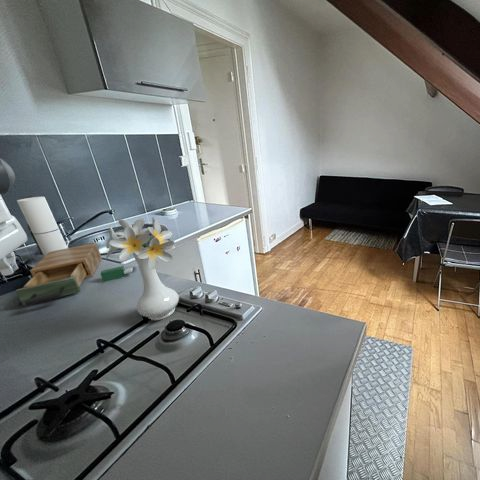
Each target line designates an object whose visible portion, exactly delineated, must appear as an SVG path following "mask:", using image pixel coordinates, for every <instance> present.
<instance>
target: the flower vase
mask: <svg viewBox="0 0 480 480" xmlns="http://www.w3.org/2000/svg"><path fill="white" fill-rule="evenodd" d="M145 223H146V221H145V219H144V218H138V219H136V220H135V221H134V223H133V224H131V223H130V222H129V221H128V220H126V219H120V218H119V220H118V224H119V226H121V227H122V229H119V230H117V231H116V232H115V231H114V229H113V227H111V226H109V228H108V229H109V230H108V231H109V237H110V238H111V239H108V241H107V242H106V245H105V248H106V249H108V251H107V253H106V257H105V260H107V259H108V258H109V257H110V256H111V255H112V253H113V252H114V251H115V250H116V249H122V250H121V251H120V253H119V255H118V260H119V261H120V262H125V261H127V260H128V259H130V257H131V256H133V258H134V259H135V261H136V263H137V265H138V269H139V272H140V275H141V278H142V284H143V292H142V294H141V296H140V297H139V299H138V301H137V304H136V311H137V312H138V314H139V315H141V316H142V317H143V318H144V317H145V318H148V319H149V320H150V319H151V321H161V320H165V319H166V318H168V317H170V316H172V315H173V314H174V313H175V311H176V308H177V306H178V304H179V301H180V295H179V294H178V293H177V291H176V290H175V289H173V288H171V287H168V286H166V285H165V284H164V283H163V282H162V281H161V279H160V277H159V276H158V275H159V274H158V273H157V270H156V267H157V265H158V263H159V260H160V261H163V262H171V261H173V260H174V258H173V255H172V254H171V253H169V252H168V251H167V250H169V249H176V246H175V241H174V240H172V239H170V238H172V237H173V233H172V231H170V230H167V228H166V227H165V225H163V224H160V222H159V221H158V220H156V219H155V218H154V217H152V218H151V223H152V226H148V227H146V228H143V227H144V226H145ZM150 234H151V235H150Z"/></svg>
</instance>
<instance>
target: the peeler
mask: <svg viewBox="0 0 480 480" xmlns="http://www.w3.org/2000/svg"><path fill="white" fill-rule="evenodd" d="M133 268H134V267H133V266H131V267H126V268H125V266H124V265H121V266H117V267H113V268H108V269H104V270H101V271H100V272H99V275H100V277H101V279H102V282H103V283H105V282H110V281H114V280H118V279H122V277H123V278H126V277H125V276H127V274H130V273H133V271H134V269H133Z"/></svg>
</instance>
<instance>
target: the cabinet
mask: <svg viewBox="0 0 480 480" xmlns="http://www.w3.org/2000/svg"><path fill="white" fill-rule="evenodd" d="M102 259H103V256H102V255H101V251H100V250H99V247H98V244H97V243H96V242H93V243H90V244H89V243H88V244H83V245H79V246H73V247H68V248H67V249H61V250H56V251H51V252H49V253H48V254H47V255H46V256H45V257H44V256H43V257H42V258H41V259H40V260H39V261H38V262H37V263H36V264H35V265H34V266H33V267H32V268H31V269H30V270H29V271H30V274H31V276H32V277H33V276H34V275H35V274H36V273H37V272H38V271H42V270H47V269H52V268H57V267H62V266H66V265H71V264H76V263H81V262H83V263H84V265H85V267H86V270H87V272H88V273H87V274H86V276H85V278H84V279H88V278H92V277H93V276H94V275H95V272H96V271H97V269H98V267H99V265H100V263H101V261H102Z"/></svg>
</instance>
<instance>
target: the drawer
mask: <svg viewBox="0 0 480 480" xmlns="http://www.w3.org/2000/svg"><path fill="white" fill-rule="evenodd" d="M87 273H88V272H87V270H86V267H85V265H84V263H83V262H81V263H76V264H71V265H66V266H62V267H57V268H52V269H47V270H42V271H38V272H37V273H36V274H35V275H34V276H32V277H31V278H30V279H29V280H28V281H27V282H26V283H25V284H24V286H23V287H21V288H18V289H16V290H15V293H16V295H17V296H18V298H19V300H20V302H21V304H22V306H29V305H33V304H37V303H41V302H46V301H49V300H53V299H58V298H62V297H64V296H69V295H73V294H76V293H81V287H80V286H81V285H82V283H83V281H84V279H86V278H85V276H86V274H87Z"/></svg>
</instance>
